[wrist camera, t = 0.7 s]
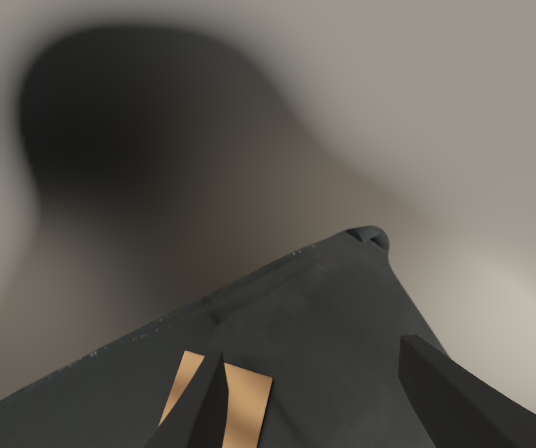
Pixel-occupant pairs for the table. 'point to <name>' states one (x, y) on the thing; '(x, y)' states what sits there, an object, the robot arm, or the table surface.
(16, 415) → the table surface
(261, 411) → the cork mat
